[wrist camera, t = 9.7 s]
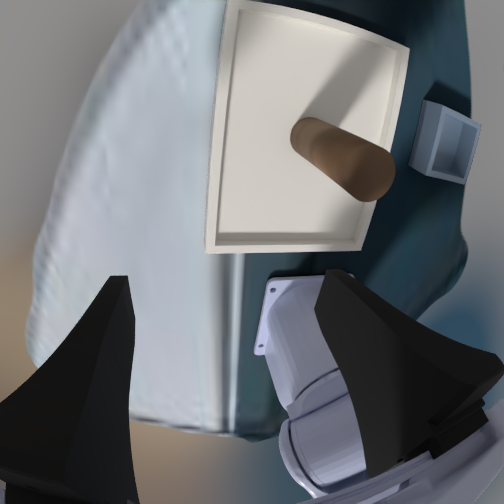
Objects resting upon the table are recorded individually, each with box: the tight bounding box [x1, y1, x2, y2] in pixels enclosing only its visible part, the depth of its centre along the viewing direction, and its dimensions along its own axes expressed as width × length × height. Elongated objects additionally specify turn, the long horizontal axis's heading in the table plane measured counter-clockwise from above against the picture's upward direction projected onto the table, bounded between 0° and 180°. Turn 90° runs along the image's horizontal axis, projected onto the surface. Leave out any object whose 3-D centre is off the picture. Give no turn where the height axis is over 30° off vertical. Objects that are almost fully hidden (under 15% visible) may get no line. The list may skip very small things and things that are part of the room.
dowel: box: [290, 117, 395, 202], centre depth 15 cm, size 3×3×7 cm
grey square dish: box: [408, 100, 481, 185], centre depth 19 cm, size 6×6×2 cm
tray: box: [204, 0, 410, 254], centre depth 17 cm, size 16×12×1 cm
